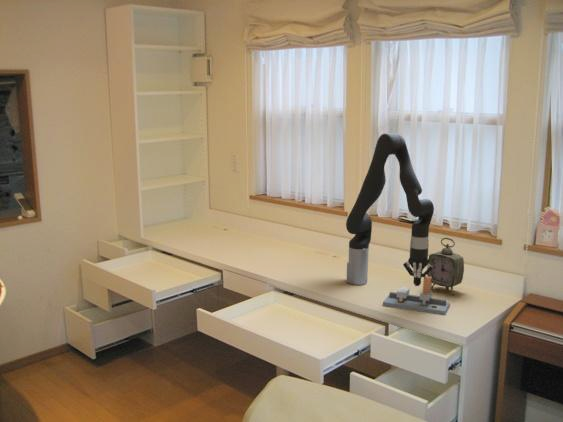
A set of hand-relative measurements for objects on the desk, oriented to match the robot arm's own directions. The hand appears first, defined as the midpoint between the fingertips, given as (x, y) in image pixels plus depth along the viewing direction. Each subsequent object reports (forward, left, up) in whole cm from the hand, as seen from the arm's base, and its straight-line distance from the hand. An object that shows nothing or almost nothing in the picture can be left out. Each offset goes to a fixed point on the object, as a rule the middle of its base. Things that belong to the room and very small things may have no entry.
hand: (417, 285), depth 265 cm
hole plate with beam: (0, -2, -8) cm, 9 cm away
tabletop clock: (+8, +23, -8) cm, 26 cm away
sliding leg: (+4, -2, -6) cm, 8 cm away
